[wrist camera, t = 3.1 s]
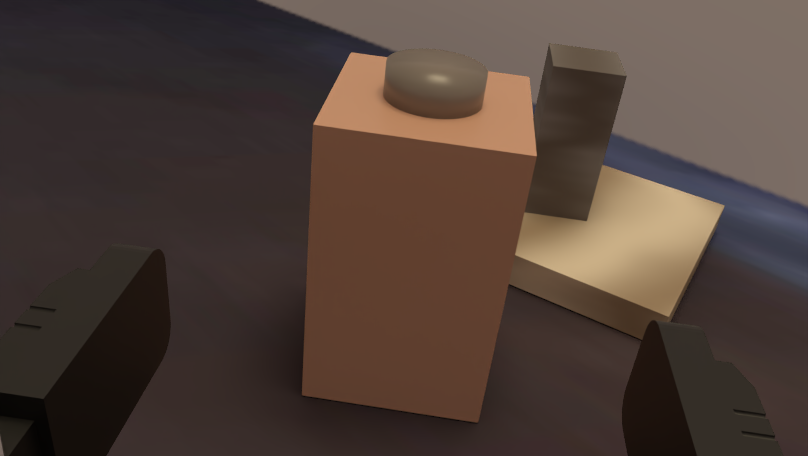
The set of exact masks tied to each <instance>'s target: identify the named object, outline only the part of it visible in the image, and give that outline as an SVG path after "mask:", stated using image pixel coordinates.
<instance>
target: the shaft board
mask: <svg viewBox="0 0 808 456" xmlns="http://www.w3.org/2000/svg"><path fill="white" fill-rule="evenodd" d="M625 80H626V73H625V71H624V68H623V66H622V63H621V61H620V59H619V56H618V54H617V53H616V52H610V51H602V50H595V49H587V48H581V47H573V46H566V45H559V44H551V43H549V47H548V52H547V57H546V61H545V66H544V71H543V75H542V80H541V85H540V90H539V94H538V99H537V104H536V109H535V113H534V118H533V121H534V131H535V142H536V152H537V158H536V163H535V167H534V172H533V176H532V181H531V185H530V190H529V194H528V199H527V203H526V208H525V212H524V217H523V222H522V226H521V231H520V235H519V240H518V244H517V249H516V253H515V258H514V262H513V267H512V271H511V276H510V280H509V284H510V285H513V286H515V287H517V288H520V289H522V290H524V291H527V292H529V293H532V294H534V295H536V296H539V297H541V298H543V299H546V300H548V301H551V302H553V303H555V304H558V305H560V306H563V307H565V308H567V309H570V310H572V311H574V312H577V313H579V314H582V315H584V316H586V317H589V318H591V319H593V320H596V321H598V322H601V323H603V324H605V325H608V326H610V327H612V328H615V329H617V330H620V331H622V332H624V333H627V334H629V335H632V336H634V337H636V338H639V339H641V340H642V339H643V336H644V333H645V330H646V328H647V326H648V324H649V323H650V322H651V321H652V320H657V321H664V322H670V321H671V319H672V317H673V315H674V313H675V311H676V309H677V307H678V305H679V303H680V301H681V299H682V297H683V295H684V293H685V291H686V289H687V287H688V285H689V283H690V281H691V279H692V276H693V274H694V272H695V270H696V268H697V266H698V264H699V262H700V260H701V258H702V256H703V254H704V252H705V250H706V248H707V246H708V244H709V242H710V240H711V238H712V236H713V234H714V232H715V229H716V227H717V224H718V222H719V219H720V216H721V214H722V211H723V209H724V205H721V204H718V203H715V202H712V201H709V200H706V199H703V198H700V197H697V196H694V195H691V194H688V193H685V192H682V191H679V190H676V189H673V188H670V187H667V186H664V185H661V184H658V183H655V182H652V181H649V180H646V179H643V178H640V177H637V176H634V175H631V174H628V173H625V172H622V171H619V170H616V169H613V168H610V167H607V166H604V165H602V164H603V161H604V157H605V153H606V150H607V146H608V142H609V139H610V135H611V131H612V128H613V124H614V120H615V117H616V113H617V110H618V106H619V102H620V99H621V95H622V91H623V88H624V84H625Z"/></svg>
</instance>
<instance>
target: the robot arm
mask: <svg viewBox="0 0 808 456" xmlns="http://www.w3.org/2000/svg"><path fill="white" fill-rule="evenodd" d="M170 328H171V322H170V310H169V298H168V287H167V275H166V264H165V257H164V254H163V252H162V251H161V250H160V249H154V248H147V247H139V246H132V245H125V244H118V243H115V244H112V245H111V246H110V247H109V248H108V249H107V250H106V251H105V253H104V254H103V255H102V256H101V257H100V258H99V260H98V261H97V262H96V263H95V264H94V266H93V267H92V268H91V269H90V270H86V269H79V268H77V269H75V270H74V271H72V272H70V273H68V274H67V275H65V276H63V277H61V278H60V279H58V280H56V281H54V282H53V283H51V284H49V285H48V286H47V287H46V288H45V290H44V291H43V292H42V293H41V294H40V295H39V296H38V297H37V298H36V300H35V301H34V302H33V303H32V304H31V305H30V309H29V310H26V311H25V312H24V313H23V314H22V315H21V316H20V317H19V318H18V320H17V321H16V322H15V325H14V327H10V328H9V330H8V331H7V332H6V333H5V334H4V335H3V336H2V337H1V338H0V456H106V455H107V454H108V452H109V450H110V449H111V447H112V445H113V443H114V442H115V440H116V438H117V437H118V435H119V433H120V431H121V430H122V428H123V426H124V425H125V423H126V421H127V419H128V418H129V416H130V414H131V413H132V411H133V409H134V408H135V406H136V404H137V402H138V401H139V399H140V397H141V396H142V394H143V392H144V390H145V389H146V387H147V385H148V384H149V382H150V380H151V378H152V377H153V375H154V373H155V372H156V370H157V368H158V366H159V365H160V363H161V361H162V359H163V357H164V355H165V353H166V350H167V346H168V342H169V337H170ZM765 415H766V413H765V411H764V408H763V406H762V404H761V401H760V399H759V397H758V394H757V392H756V390H755V387H754V386H753V385H752V384H751V383H750V382H749V381H748V380H747V379H746V378H745V377H744V376H743V375H742V373H741V372H740V371H739V370H738V369H737V368H736V367H735V366H734V365H733V364H732V363H729V362H722V361H715V360H714V357H713V354H712V352H711V349H710V346H709V344H708V341H707V338H706V336H705V333H704V331H703V329H702V328H701V327H699V326H692V325H685V324H678V323H671V322H664V321H657V320H652V321H651V322H650V323H649V324H648V326H647V328H646V330H645V333H644V336H643V339H642V342H641V345H640V348H639V351H638V354H637V357H636V360H635V363H634V366H633V369H632V372H631V375H630V378H629V381H628V384H627V387H626V390H625V394H624V399H623V407H622V426H623V433H624V438H625V443H626V448H627V453H628V456H783V453H782V451H781V448H780V446H779V444H778V441H775V434H774V432H773V430H772V427H771V425H770V423H769V420H768V419H766V418H765Z"/></svg>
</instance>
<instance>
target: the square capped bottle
mask: <svg viewBox="0 0 808 456" xmlns="http://www.w3.org/2000/svg"><path fill="white" fill-rule="evenodd" d="M536 158H537V152H536V142H535V131H534V121H533V110H532V100H531V89H530V79H529V77H525V76H518V75H510V74H503V73H496V72H489V71H488V70H487V69H486V67H485V66H483V64H481V63H480V62H478V61H476V60H475V59H472V58H470V57H467V56H465V55H462V54H457V53H454V52H449V51H444V50H436V49H408V50H402V51H398V52H395V53H393V54H391V55H390V56H389V57H388V58H387V57H380V56H373V55H366V54H358V53H351V54H350V56H349V58H348V60H347V61H346V63H345V65H344V67H343V69H342V71H341V73H340V75H339V77H338V79H337V80H336V82H335V84H334V86H333V88H332V90H331V92H330V94H329V96H328V98H327V99H326V101H325V103H324V105H323V107H322V109H321V111H320V113H319V115H318V116H317V118H316V120H315V122H314V124H313V143H312V166H311V190H310V214H309V238H308V261H307V285H306V309H305V333H304V357H303V380H302V395H303V396H309V397H316V398H322V399H328V400H335V401H341V402H348V403H354V404H361V405H367V406H373V407H380V408H386V409H393V410H399V411H405V412H412V413H418V414H425V415H431V416H437V417H444V418H450V419H457V420H463V421H469V422H476V423H478V421H479V416H480V412H481V407H482V403H483V398H484V394H485V389H486V385H487V380H488V376H489V371H490V366H491V362H492V357H493V353H494V348H495V344H496V339H497V335H498V330H499V326H500V321H501V317H502V312H503V308H504V303H505V299H506V294H507V289H508V285H509V280H510V276H511V271H512V267H513V262H514V258H515V253H516V249H517V244H518V240H519V235H520V231H521V226H522V222H523V217H524V212H525V208H526V203H527V199H528V194H529V190H530V185H531V181H532V176H533V172H534V167H535V163H536Z"/></svg>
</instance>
